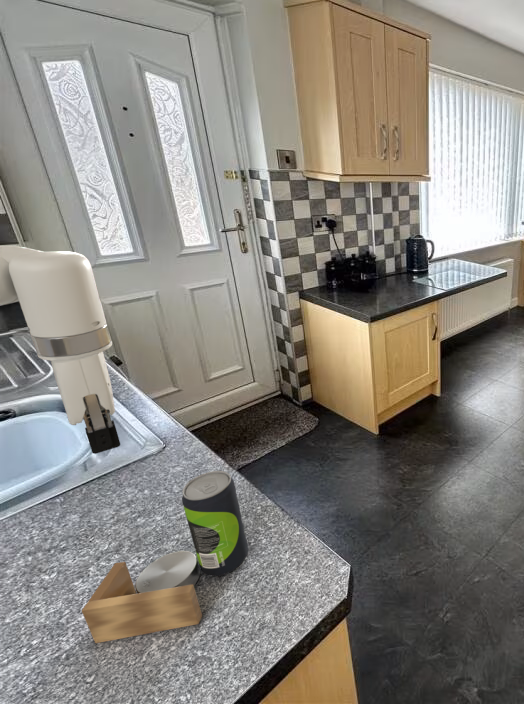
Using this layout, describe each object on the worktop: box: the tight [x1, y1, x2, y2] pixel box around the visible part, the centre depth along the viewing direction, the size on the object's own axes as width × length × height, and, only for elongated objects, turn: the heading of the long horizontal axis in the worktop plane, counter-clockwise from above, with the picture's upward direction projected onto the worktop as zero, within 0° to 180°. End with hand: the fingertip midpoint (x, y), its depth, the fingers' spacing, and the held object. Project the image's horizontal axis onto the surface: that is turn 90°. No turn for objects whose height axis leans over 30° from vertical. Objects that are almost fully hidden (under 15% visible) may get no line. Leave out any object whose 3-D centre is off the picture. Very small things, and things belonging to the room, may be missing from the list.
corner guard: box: [81, 561, 203, 644], centre depth 57 cm, size 12×7×6 cm, turn 104°
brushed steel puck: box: [134, 550, 201, 594], centre depth 61 cm, size 7×7×2 cm
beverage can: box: [181, 470, 249, 577], centre depth 63 cm, size 6×6×15 cm
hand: (106, 447), depth 66 cm, fingers closed
